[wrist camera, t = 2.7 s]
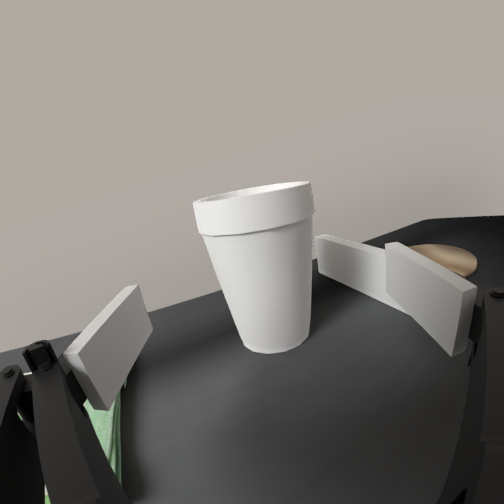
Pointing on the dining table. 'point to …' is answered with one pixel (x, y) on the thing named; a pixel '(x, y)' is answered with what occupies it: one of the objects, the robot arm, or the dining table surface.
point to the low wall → (355, 266)
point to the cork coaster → (449, 257)
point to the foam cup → (263, 260)
